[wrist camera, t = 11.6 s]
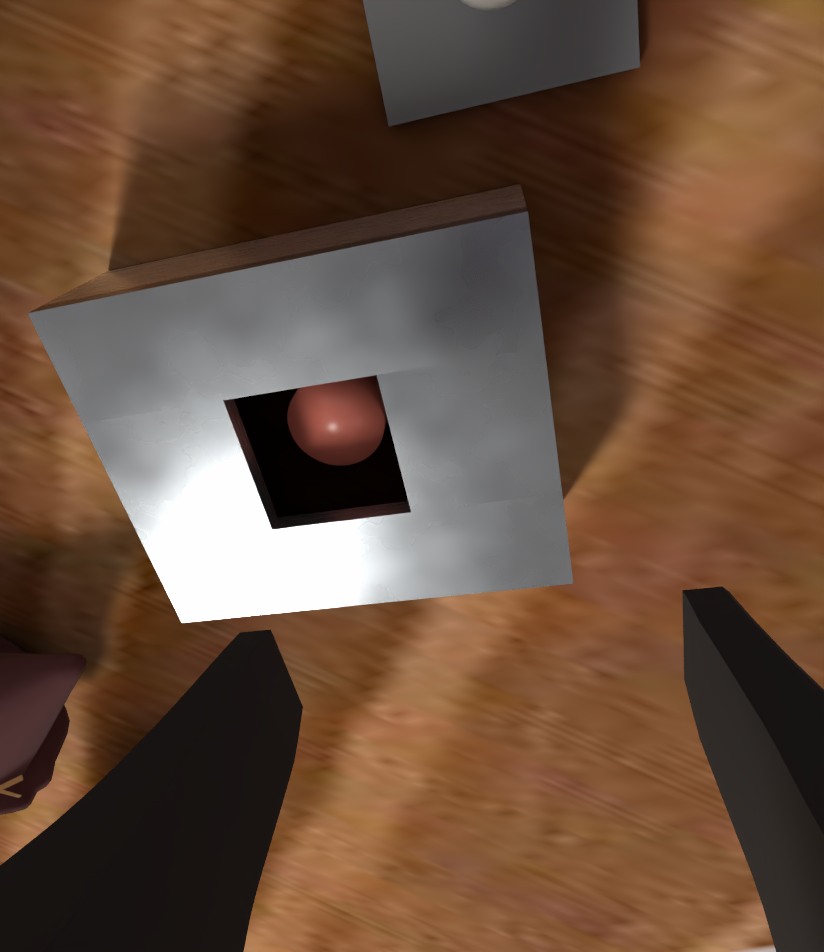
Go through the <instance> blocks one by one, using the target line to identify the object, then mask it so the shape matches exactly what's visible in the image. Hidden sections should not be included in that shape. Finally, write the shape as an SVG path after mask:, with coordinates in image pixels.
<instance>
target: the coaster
mask: <svg viewBox="0 0 824 952" xmlns="http://www.w3.org/2000/svg"><path fill="white" fill-rule="evenodd" d="M363 3H364V8H365V13H366V18H367V23H368V28H369V33H370V38H371V42H372V47H373V52H374V57H375V62H376V67H377V72H378V77H379V82H380V86H381V91H382V96H383V101H384V106H385V111H386V116H387V121H388V125H389V126H393V125H397V124H401V123H406V122H410V121H414V120H418V119H423V118H427V117H431V116H435V115H440V114H444V113H448V112H452V111H457V110H461V109H465V108H469V107H474V106H478V105H482V104H486V103H491V102H495V101H499V100H503V99H507V98H512V97H516V96H520V95H524V94H529V93H533V92H537V91H541V90H546V89H550V88H554V87H558V86H563V85H567V84H571V83H575V82H580V81H584V80H588V79H592V78H597V77H601V76H605V75H609V74H614V73H618V72H622V71H626V70H631V69H635V68H639V67H640V52H639V28H638V3H637V0H518V1H516V2H515V3H513V4H511V5H509V6H507V7H505V8H502V9H499V10H492V11H483V10H478V9H475V8H472V7H469V6H468V5H466V4H464V3H463V2H461V1H460V0H363Z"/></svg>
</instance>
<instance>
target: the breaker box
mask: <svg viewBox="0 0 824 952" xmlns="http://www.w3.org/2000/svg"><path fill="white" fill-rule="evenodd" d="M28 315H29V317H30V319H31V321H32V323H33V325H34V327H35V329H36V331H37V333H38V335H39V337H40V339H41V341H42V343H43V345H44V347H45V349H46V351H47V353H48V355H49V357H50V359H51V361H52V363H53V365H54V367H55V369H56V371H57V373H58V375H59V377H60V379H61V381H62V383H63V385H64V387H65V389H66V391H67V393H68V395H69V397H70V399H71V401H72V403H73V405H74V407H75V409H76V411H77V413H78V415H79V417H80V419H81V421H82V423H83V425H84V427H85V429H86V431H87V433H88V435H89V437H90V439H91V441H92V443H93V445H94V447H95V449H96V451H97V453H98V455H99V457H100V459H101V461H102V463H103V465H104V467H105V470H106V472H107V474H108V476H109V478H110V480H111V482H112V484H113V486H114V488H115V490H116V492H117V494H118V496H119V498H120V500H121V502H122V504H123V506H124V508H125V510H126V512H127V514H128V516H129V518H130V520H131V522H132V524H133V526H134V528H135V530H136V532H137V534H138V536H139V538H140V540H141V542H142V544H143V546H144V548H145V550H146V552H147V554H148V556H149V558H150V560H151V562H152V564H153V566H154V568H155V570H156V572H157V574H158V576H159V578H160V580H161V582H162V584H163V586H164V588H165V590H166V592H167V594H168V596H169V598H170V600H171V602H172V604H173V606H174V608H175V610H176V612H177V614H178V616H179V618H180V620H181V622H182V623H184V622H194V621H204V620H214V619H224V618H234V617H244V616H254V615H264V614H274V613H284V612H294V611H304V610H314V609H324V608H334V607H344V606H354V605H364V604H374V603H384V602H394V601H404V600H414V599H424V598H434V597H444V596H454V595H464V594H474V593H484V592H494V591H504V590H514V589H524V588H534V587H544V586H554V585H564V584H573V578H572V570H571V561H570V553H569V545H568V537H567V528H566V520H565V512H564V504H563V495H562V487H561V479H560V471H559V462H558V454H557V446H556V438H555V430H554V421H553V413H552V405H551V397H550V388H549V380H548V372H547V364H546V355H545V347H544V339H543V331H542V322H541V314H540V306H539V298H538V289H537V281H536V273H535V265H534V256H533V248H532V240H531V232H530V223H529V215H528V210H527V206H526V202H525V199H524V195H523V192H522V188H521V184H518V185H513V186H508V187H504V188H499V189H494V190H490V191H485V192H480V193H475V194H471V195H466V196H461V197H456V198H452V199H447V200H442V201H437V202H433V203H428V204H423V205H419V206H414V207H409V208H404V209H400V210H395V211H390V212H385V213H381V214H376V215H371V216H367V217H362V218H357V219H352V220H348V221H343V222H338V223H333V224H329V225H324V226H319V227H314V228H310V229H305V230H300V231H296V232H291V233H286V234H281V235H277V236H272V237H267V238H262V239H258V240H253V241H248V242H244V243H239V244H234V245H229V246H225V247H220V248H215V249H210V250H206V251H201V252H196V253H191V254H187V255H182V256H177V257H173V258H168V259H163V260H158V261H154V262H149V263H144V264H139V265H135V266H130V267H125V268H121V269H116V270H111V271H107V272H105V273H103V274H101V275H99V276H97V277H95V278H94V279H92V280H90V281H88V282H86V283H84V284H82V285H80V286H78V287H77V288H75V289H73V290H71V291H69V292H67V293H65V294H63V295H61V296H59V297H58V298H56V299H54V300H52V301H50V302H48V303H46V304H44V305H42V306H41V307H39V308H37V309H35V310H33V311H31V312H29V313H28ZM374 375H377V379H378V383H379V387H380V391H381V395H382V399H383V403H384V407H385V411H386V415H387V419H388V423H389V427H390V431H391V434H392V438H393V442H394V446H395V450H396V454H397V458H398V462H399V466H400V470H401V474H402V478H403V482H404V486H405V490H406V494H407V498H408V501H404V502H396V503H388V504H380V505H372V506H365V507H357V508H349V509H341V510H333V511H326V512H318V513H310V514H302V515H294V516H287V517H279V518H278V517H277V514H276V512H275V509H274V506H273V503H272V501H271V498H270V495H269V493H268V490H267V487H266V485H265V482H264V479H263V476H262V474H261V471H260V468H259V466H258V463H257V460H256V458H255V455H254V452H253V449H252V447H251V444H250V441H249V439H248V436H247V433H246V430H245V428H244V425H243V422H242V420H241V417H240V414H239V412H238V409H237V406H236V403H235V401H234V399H235V398H241V397H247V396H253V395H259V394H265V393H271V392H277V391H283V390H289V389H295V388H301V387H307V386H313V385H319V384H326V383H332V382H338V381H344V380H350V379H356V378H362V377H368V376H374Z"/></svg>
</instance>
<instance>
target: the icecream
mask: <svg viewBox="0 0 824 952" xmlns="http://www.w3.org/2000/svg"><path fill="white" fill-rule="evenodd" d="M85 666H86V660H85V658H84V657H83V656H82V655H79V654H68V653H66V654H28V653H27V652H26V651H24V650H23V649H22V648H20V647H19V646H18V645H16V644H15V643H14V642H12V641H11V640H9V639H8V638H6V637H4V636H2V635H0V815H1V814H7V813H13V812H16V811H20V810H23V809H26V808H27V807H28V806H29V805H30V804H31V803H32V801H33V799H34V797H35V795H36V793H37V792H38V791H39V790H41V789H43V788H44V787H46V786H47V785H48V783H49V782H50V781H51V779H52V775H53V771H54V766H55V761H56V759H57V757H58V754H59V752H60V750H61V747H62V745H63V743H64V740H65V738H66V736H67V733H68V727H69V717H68V714H67V710H66V708H65V705H64V704H65V702H66V700H67V698H68V696H69V694H70V693H71V691H72V689H73V687H74V686H75V684H76V682H77V681H78V679H79V677H80V675H81V674H82V672H83V670H84V668H85Z"/></svg>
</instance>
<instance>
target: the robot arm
mask: <svg viewBox="0 0 824 952" xmlns="http://www.w3.org/2000/svg"><path fill="white" fill-rule="evenodd" d="M683 634H684V680H685V683H686V687H687V691H688V695H689V699H690V703H691V707H692V711H693V715H694V718H695V722H696V726H697V730H698V733H699V737H700V740H701V743H702V745H703V748H704V751H705V753H706V756H707V759H708V761H709V764H710V766H711V769H712V772H713V774H714V777H715V780H716V782H717V785H718V787H719V790H720V793H721V795H722V798H723V800H724V803H725V806H726V808H727V811H728V813H729V816H730V818H731V821H732V824H733V826H734V829H735V831H736V834H737V837H738V839H739V842H740V844H741V847H742V850H743V852H744V855H745V857H746V860H747V862H748V865H749V868H750V870H751V873H752V875H753V878H754V881H755V884H756V887H757V890H758V893H759V896H760V899H761V902H762V904H763V907H764V911H765V914H766V918H767V921H768V925H769V928H770V932H771V935H772V938H773V942H774V945H775V949H776V952H824V689H823V688H821V687H820V686H819V685H818V684H817V683H816V682H815V681H814V680H813V679H812V678H811V677H810V676H809V675H808V674H807V673H806V672H805V671H804V670H803V669H802V668H801V667H800V666H798V665H797V664H796V663H795V662H794V661H793V660H792V659H791V658H790V657H789V656H788V655H787V654H786V653H785V652H784V651H783V650H782V649H781V648H780V647H779V646H778V645H777V644H776V643H775V641H774V640H773V639H772V638H771V637H770V636H769V635H768V634H767V633H766V632H765V631H764V630H763V629H762V628H761V627H760V626H759V625H758V624H757V623H756V621H755V620H754V619H753V618H752V617H751V616H750V615H749V614H748V613H747V612H746V610H745V609H744V608H743V607H742V606H741V605H740V604H739V603H738V601H737V600H736V599H735V598H734V597H733V596H732V594H731V593H730V592H729V591H727V590H726V589H725V588H723V587H714V588H703V589H693V590H683ZM302 709H303V706H302V704H301V701H300V699H299V697H298V694H297V692H296V689H295V687H294V685H293V682H292V680H291V677H290V675H289V673H288V670H287V668H286V665H285V663H284V661H283V658H282V656H281V653H280V651H279V649H278V646H277V644H276V641H275V639H274V637H273V634H272V632H271V630H263V631H253V632H242V633H239V634H238V635H237V636H236V637H235V639H234V640H233V641H232V642H231V643H230V644H229V645H228V646H227V647H226V648H225V649H224V650H223V651H222V653H221V654H220V655H219V656H218V657H217V658H216V659H215V660H214V662H213V663H212V664H211V665H210V666H209V667H208V668H207V669H206V671H205V672H204V673H203V674H202V675H201V676H200V677H199V678H198V680H197V681H196V682H195V683H194V684H193V685H192V686H191V687H190V689H189V690H188V691H187V692H186V693H185V694H184V695H183V696H182V697H181V698H180V700H179V701H178V702H177V703H176V704H175V705H174V706H173V707H172V708H171V710H170V711H169V712H168V713H167V714H166V715H165V716H164V717H163V718H162V719H161V721H160V722H159V723H158V724H157V725H156V726H155V727H154V728H153V729H152V730H151V731H150V732H149V733H148V734H147V735H146V736H145V737H144V738H143V739H142V740H141V741H140V742H139V743H138V744H137V745H136V746H135V747H134V748H133V749H132V750H131V751H130V752H129V753H128V754H127V755H126V756H125V757H124V758H123V759H122V761H121V762H120V763H119V764H118V765H117V766H116V767H115V768H114V769H113V770H112V771H111V772H110V773H108V774H107V775H106V776H105V777H104V778H103V779H102V780H101V781H100V782H99V783H98V784H97V785H96V786H95V787H94V788H93V789H91V790H90V791H89V792H88V793H87V794H86V795H85V796H84V797H83V798H82V799H80V800H79V801H78V802H77V803H76V804H75V805H74V806H72V807H71V808H70V809H69V810H68V811H67V812H66V813H65V814H63V815H62V816H61V817H60V818H59V819H58V820H57V821H55V822H54V823H53V824H52V825H51V826H49V827H48V828H47V829H46V830H45V831H43V832H42V833H41V834H40V835H38V836H37V837H36V838H34V839H33V840H32V841H31V842H29V843H28V844H27V845H26V846H24V847H23V848H22V849H21V850H19V851H18V852H17V853H16V854H14V855H13V856H12V857H11V858H9V859H8V860H7V861H6V862H4V863H3V864H2V865H0V952H243V951H244V946H245V941H246V935H247V930H248V925H249V920H250V915H251V911H252V907H253V903H254V899H255V895H256V891H257V887H258V884H259V880H260V877H261V874H262V870H263V867H264V863H265V860H266V857H267V853H268V850H269V847H270V843H271V840H272V836H273V833H274V830H275V826H276V823H277V820H278V816H279V813H280V809H281V806H282V803H283V799H284V796H285V792H286V789H287V785H288V782H289V778H290V775H291V771H292V767H293V764H294V759H295V754H296V748H297V742H298V736H299V729H300V723H301V716H302Z"/></svg>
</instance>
